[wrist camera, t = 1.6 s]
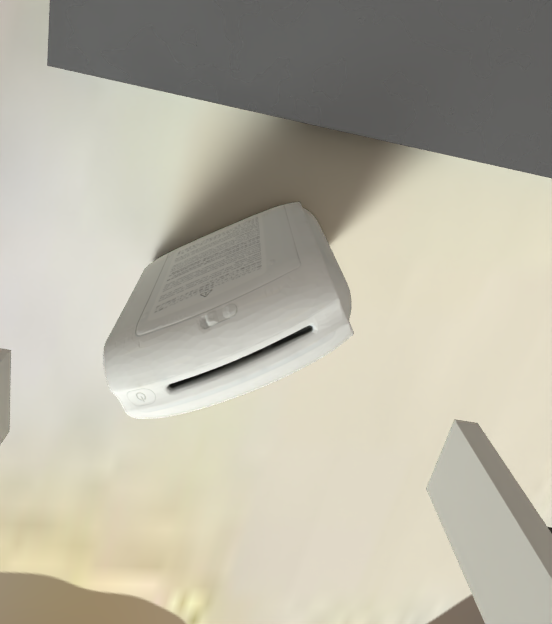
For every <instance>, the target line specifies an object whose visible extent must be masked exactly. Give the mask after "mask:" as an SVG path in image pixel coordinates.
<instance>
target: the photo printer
mask: <svg viewBox="0 0 552 624" xmlns="http://www.w3.org/2000/svg"><path fill="white" fill-rule="evenodd" d="M350 314H351V295H350V290H349V287H348V284H347V282H346V280H345V278H344V276H343V273H342V271H341V269H340V267H339V265H338V263H337V261H336V259H335V256H334V254H333V252H332V250H331V248H330V246H329V244H328V241H327V239H326V237H325V235H324V233H323V231H322V229H321V227H320V225H319V223H318V221H317V220H316V218H315V217H314V216H313V215H312V214H311V213H310V212H309V211H308V210H306V209H305V208H302V205H301V203H300V202H293V203H288V204H284V205H280V206H277V207H274V208H271V209H268V210H266V211H263V212H261V213H258V214H255V215H252V216H251V217H248V218H246V219H243V220H241V221H239V222H236V223H234V224H232V225H229V226H227V227H224V228H222V229H220V230H217V231H215V232H213V233H211V234H208V235H206V236H204V237H201V238H199V239H197V240H195V241H192V242H190V243H188V244H186V245H183V246H181V247H179V248H177V249H175V250H173V251H171V252H169V253H167V254H165V255H163V256H162V257H160V258H158V259H157V260H155V261H154V262H152V263H151V264H150V265H148V266H147V267H146V268H145V269H144V271H143V273H142V275H141V277H140V279H139V281H138V283H137V284H136V286H135V288H134V290H133V292H132V294H131V296H130V298H129V300H128V302H127V303H126V305H125V307H124V309H123V311H122V313H121V315H120V317H119V318H118V320H117V322H116V324H115V326H114V328H113V330H112V332H111V333H110V335H109V337H108V339H107V341H106V343H105V346H104V354H103V365H104V371H105V376H106V380H107V384H108V387H109V389H110V391H111V392H112V393H113V394H114V395H115V396H116V397H117V398H118V399H119V401H120V402H121V404H122V406H123V409H124V411H125V413H127V414H128V415H129V416H131V417H133V418H136V419H151V418H163V417H170V416H175V415H179V414H184V413H188V412H192V411H195V410H199V409H203V408H206V407H210V406H212V405H215V404H219V403H222V402H224V401H227V400H230V399H233V398H236V397H238V396H241V395H244V394H246V393H249V392H252V391H254V390H256V389H259V388H261V387H264V386H266V385H269V384H271V383H273V382H275V381H278V380H280V379H282V378H284V377H286V376H288V375H290V374H292V373H294V372H296V371H298V370H300V369H302V368H304V367H306V366H308V365H310V364H312V363H313V362H315V361H317V360H319V359H320V358H322V357H324V356H326V355H327V354H329V353H330V352H332V351H333V350H335V349H336V348H337V347H339V346H340V345H341V344H342V343H344V342H345V341H346V340H347V339H349V338H350V337H351V336H352V335H353V334H354V332H353V330H352V327H351V325H350V322H349V318H350Z"/></svg>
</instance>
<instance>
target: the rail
mask: <svg viewBox="0 0 552 624" xmlns="http://www.w3.org/2000/svg"><path fill="white" fill-rule="evenodd" d="M47 66H52V67H56V68H61V69H65V70H70V71H74V72H79V73H83V74H88V75H92V76H97V77H101V78H105V79H110V80H114V81H119V82H123V83H128V84H132V85H137V86H141V87H146V88H150V89H155V90H159V91H164V92H168V93H173V94H177V95H182V96H186V97H190V98H195V99H199V100H204V101H208V102H213V103H217V104H222V105H226V106H231V107H235V108H240V109H244V110H249V111H253V112H258V113H262V114H267V115H271V116H276V117H280V118H284V119H289V120H293V121H298V122H302V123H307V124H311V125H316V126H320V127H325V128H329V129H334V130H338V131H343V132H347V133H352V134H356V135H361V136H365V137H370V138H374V139H378V140H383V141H387V142H392V143H396V144H401V145H405V146H410V147H414V148H419V149H423V150H428V151H432V152H437V153H441V154H446V155H450V156H455V157H459V158H463V159H468V160H472V161H477V162H481V163H486V164H490V165H495V166H499V167H504V168H508V169H513V170H517V171H522V172H526V173H531V174H535V175H540V176H544V177H549V178H552V0H50V12H49V37H48V62H47Z"/></svg>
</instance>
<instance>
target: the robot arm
mask: <svg viewBox="0 0 552 624" xmlns="http://www.w3.org/2000/svg"><path fill="white" fill-rule="evenodd" d="M10 374H11V350H7V349H0V444H1V443H2V442H3V440H4V439H5V437H6V436H7V434H8V433H9V427H10ZM426 490H427V492H428V494H429V496H430V499H431V501H432V503H433V506H434V508H435V510H436V512H437V515H438V517H439V519H440V522H441V524H442V526H443V528H444V531H445V533H446V535H447V538H448V540H449V542H450V544H451V547H452V549H453V551H454V554H455V556H456V558H457V560H458V563H459V565H460V567H461V570H462V572H463V574H464V576H465V579H466V581H467V583H468V586H469V588H470V590H471V592H472V595H473V597H474V599H475V602H476V604H477V606H478V608H479V611H480V613H481V615H482V617H483V620H484V622H485V624H552V528H550V527H547V526H546V524H545V523H544V521H543V520H542V518H541V517H540V515H539V514H538V512H537V511H536V509H535V508H534V506H533V505H532V503H531V502H530V500H529V499H528V497H527V496H526V495H525V493H524V492H523V490H522V489H521V487H520V486H519V484H518V483H517V481H516V480H515V478H514V477H513V475H512V474H511V472H510V471H509V469H508V468H507V466H506V465H505V463H504V462H503V460H502V459H501V457H500V456H499V454H498V453H497V451H496V450H495V448H494V447H493V445H492V444H491V442H490V441H489V439H488V438H487V436H486V435H485V433H484V432H483V430H482V429H481V427H480V426H479V424H478V423H474V422H467V421H461V420H455V419H454V422H453V424H452V427H451V429H450V432H449V434H448V436H447V439H446V441H445V444H444V446H443V449H442V451H441V454H440V456H439V458H438V461H437V463H436V466H435V468H434V471H433V473H432V476H431V478H430V480H429V483H428V485H427V488H426Z"/></svg>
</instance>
